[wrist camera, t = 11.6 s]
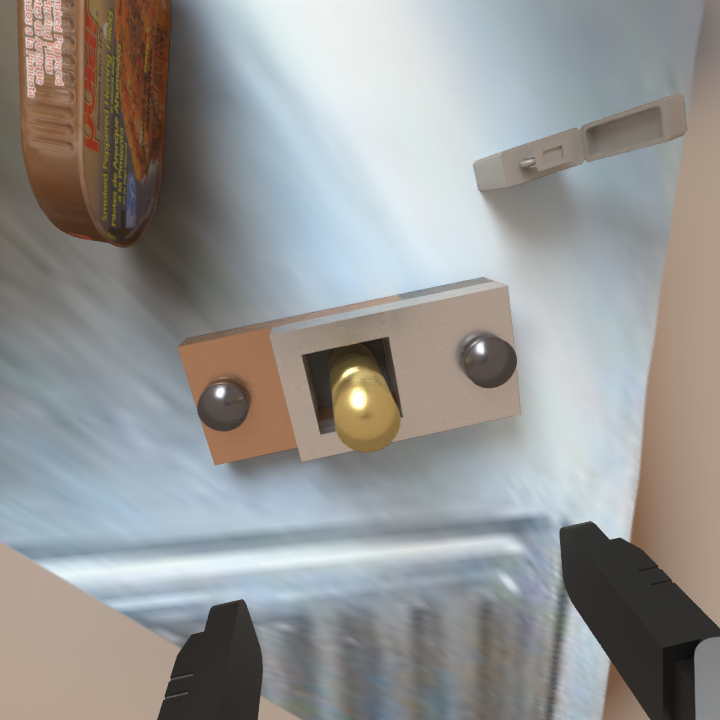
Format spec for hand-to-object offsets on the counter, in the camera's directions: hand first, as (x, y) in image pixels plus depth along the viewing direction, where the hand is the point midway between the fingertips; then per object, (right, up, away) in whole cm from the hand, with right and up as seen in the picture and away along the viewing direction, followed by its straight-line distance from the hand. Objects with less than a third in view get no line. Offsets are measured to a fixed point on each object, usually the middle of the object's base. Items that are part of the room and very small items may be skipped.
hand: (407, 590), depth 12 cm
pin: (-2, +5, +19) cm, 19 cm away
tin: (-13, +20, +14) cm, 27 cm away
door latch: (-2, +5, +19) cm, 19 cm away
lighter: (+9, +17, +16) cm, 26 cm away
